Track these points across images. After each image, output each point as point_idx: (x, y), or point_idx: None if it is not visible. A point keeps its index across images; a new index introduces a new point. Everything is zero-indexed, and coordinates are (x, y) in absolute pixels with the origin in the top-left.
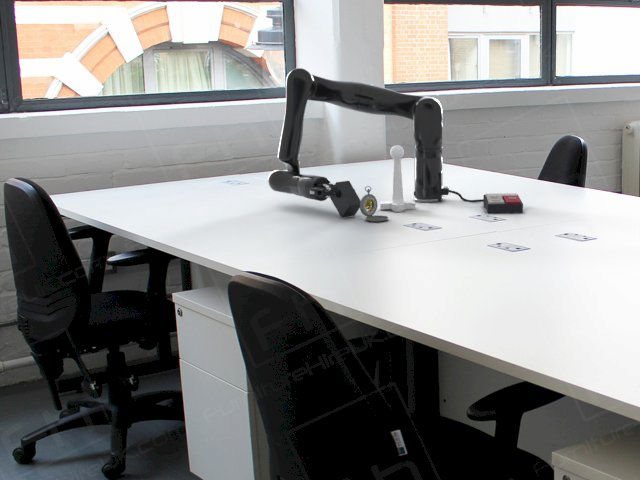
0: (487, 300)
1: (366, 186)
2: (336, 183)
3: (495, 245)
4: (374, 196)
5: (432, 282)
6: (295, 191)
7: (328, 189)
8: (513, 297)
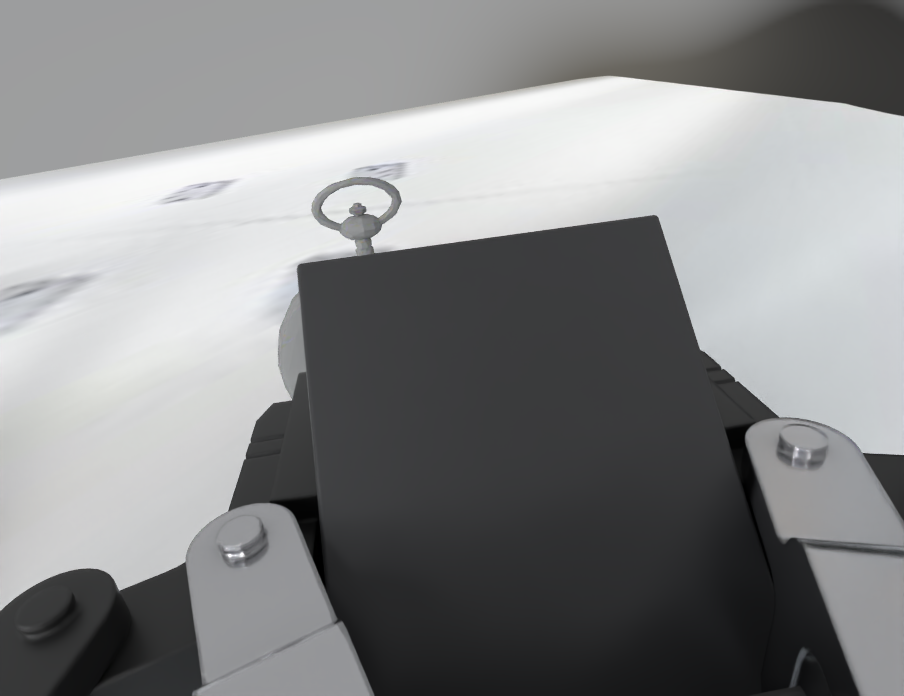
0: (610, 108)
1: (368, 178)
2: (652, 237)
3: (384, 178)
4: (298, 294)
5: (643, 120)
6: None
7: (831, 429)
8: (576, 111)
